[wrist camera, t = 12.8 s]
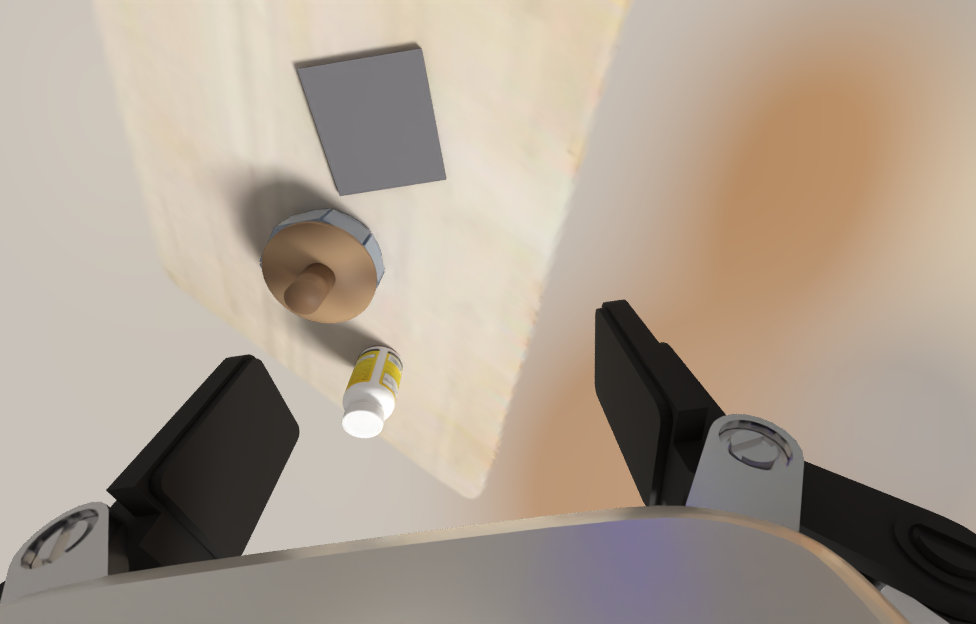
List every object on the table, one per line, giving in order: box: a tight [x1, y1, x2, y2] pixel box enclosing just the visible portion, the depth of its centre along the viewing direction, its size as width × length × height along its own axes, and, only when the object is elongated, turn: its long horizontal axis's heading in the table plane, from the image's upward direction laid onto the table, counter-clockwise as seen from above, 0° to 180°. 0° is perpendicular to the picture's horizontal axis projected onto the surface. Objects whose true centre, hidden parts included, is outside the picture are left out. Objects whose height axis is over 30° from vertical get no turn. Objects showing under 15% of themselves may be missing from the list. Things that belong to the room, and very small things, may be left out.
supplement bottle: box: [342, 346, 403, 438], centre depth 41 cm, size 5×5×10 cm
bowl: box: [260, 209, 385, 288], centre depth 37 cm, size 10×10×4 cm
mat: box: [297, 49, 446, 196], centre depth 32 cm, size 10×10×1 cm
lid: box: [262, 221, 377, 323], centre depth 33 cm, size 10×10×5 cm
